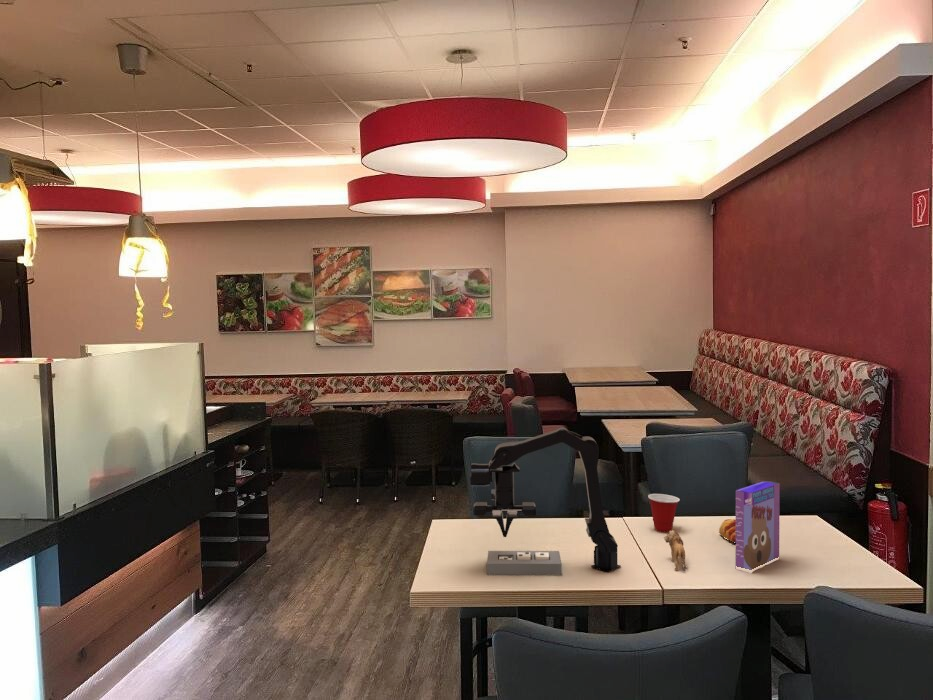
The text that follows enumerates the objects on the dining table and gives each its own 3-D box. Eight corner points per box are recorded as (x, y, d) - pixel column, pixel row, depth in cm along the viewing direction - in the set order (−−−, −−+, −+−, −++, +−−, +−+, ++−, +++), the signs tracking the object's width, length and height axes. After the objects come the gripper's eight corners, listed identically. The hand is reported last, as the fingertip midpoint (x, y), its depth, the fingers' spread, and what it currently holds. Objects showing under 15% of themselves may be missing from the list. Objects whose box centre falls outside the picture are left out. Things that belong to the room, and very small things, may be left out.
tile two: (530, 558, 234) (530, 551, 233) (530, 562, 230) (530, 556, 229) (517, 558, 234) (517, 551, 234) (517, 562, 230) (517, 555, 230)
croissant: (721, 538, 270) (710, 518, 270) (747, 525, 268) (736, 505, 268) (731, 556, 249) (719, 534, 249) (760, 542, 247) (748, 520, 247)
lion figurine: (662, 557, 240) (662, 529, 239) (679, 556, 240) (679, 528, 239) (676, 573, 225) (676, 543, 225) (694, 572, 225) (694, 542, 225)
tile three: (512, 562, 234) (512, 556, 234) (512, 566, 230) (512, 560, 230) (499, 562, 234) (499, 555, 234) (499, 566, 230) (499, 560, 230)
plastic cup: (683, 534, 263) (683, 500, 262) (651, 535, 263) (651, 500, 262) (675, 525, 273) (675, 492, 273) (645, 526, 274) (645, 492, 273)
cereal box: (750, 573, 224) (750, 492, 223) (735, 569, 228) (735, 489, 226) (779, 559, 236) (779, 482, 234) (764, 556, 239) (764, 480, 238)
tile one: (548, 558, 233) (548, 551, 233) (549, 562, 229) (549, 556, 229) (535, 558, 233) (535, 551, 233) (535, 562, 229) (535, 556, 229)
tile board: (559, 561, 237) (559, 550, 237) (561, 575, 225) (561, 563, 225) (488, 561, 238) (488, 550, 238) (487, 574, 227) (486, 563, 226)
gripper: (534, 479, 238) (535, 529, 239) (474, 479, 239) (475, 528, 240) (535, 488, 227) (536, 540, 228) (473, 488, 228) (473, 539, 229)
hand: (504, 536), depth 232 cm, fingers closed
